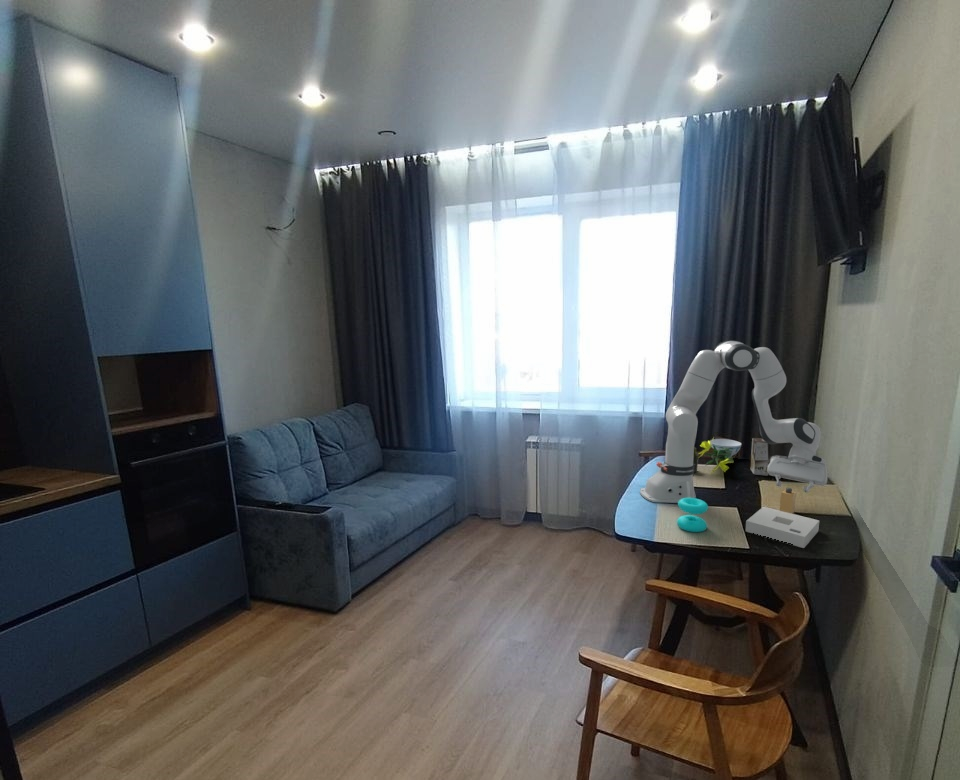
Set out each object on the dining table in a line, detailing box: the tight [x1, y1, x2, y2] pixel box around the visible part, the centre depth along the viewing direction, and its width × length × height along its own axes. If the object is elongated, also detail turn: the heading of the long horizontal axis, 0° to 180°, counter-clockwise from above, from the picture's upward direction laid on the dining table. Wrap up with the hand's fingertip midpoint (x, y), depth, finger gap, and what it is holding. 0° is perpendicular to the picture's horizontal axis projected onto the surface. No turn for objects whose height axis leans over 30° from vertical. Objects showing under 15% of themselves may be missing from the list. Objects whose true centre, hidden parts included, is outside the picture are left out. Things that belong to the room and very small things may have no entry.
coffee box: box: [749, 437, 772, 477], centre depth 236 cm, size 9×6×16 cm
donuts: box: [676, 497, 709, 533], centre depth 178 cm, size 10×10×10 cm
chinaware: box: [709, 438, 742, 459], centre depth 263 cm, size 15×15×8 cm
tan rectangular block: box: [779, 487, 797, 514], centre depth 190 cm, size 4×4×10 cm
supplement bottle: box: [693, 446, 699, 474], centre depth 239 cm, size 7×7×12 cm
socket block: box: [745, 506, 820, 549], centre depth 174 cm, size 18×18×4 cm
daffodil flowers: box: [697, 436, 734, 474], centre depth 242 cm, size 17×15×35 cm
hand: (791, 488), depth 192 cm, fingers open, 8 cm apart
